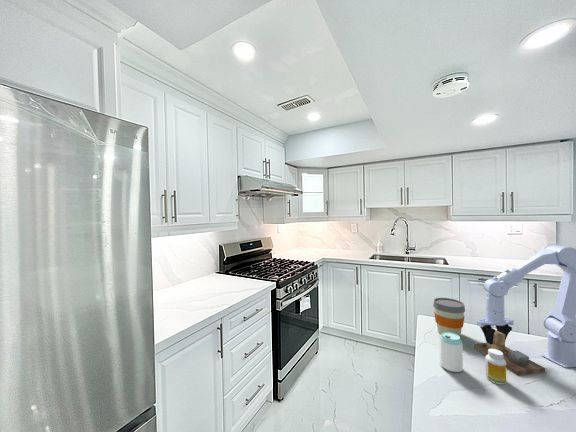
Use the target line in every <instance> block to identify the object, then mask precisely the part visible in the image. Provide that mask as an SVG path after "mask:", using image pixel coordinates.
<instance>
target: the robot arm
mask: <svg viewBox="0 0 576 432" xmlns="http://www.w3.org/2000/svg"><path fill="white" fill-rule="evenodd" d="M544 265H556V266H558V267H559V268H560V269H561V270H562V275H561V280H560V283H559V287H558V293H557V296H556V300H555V304H554V308H553V309H552V310H550V311H548V314H547V315H546V317H544V319H543V321H542V322H543V323H542V324H543V326H544V328H545V329H546V332H547V353H541V354H540V356H542V357H543V358H545V359H547V360H549V361H552V362H553V363H555V364H557V365H559V366H561V367H563V368H568V369H569V368H576V247H575V248H574V247H571V246H562V245H558V244H553V243H551V244H546V245H545V246H544V247H543V248H539V249H538V251H537V252H536V253H535V254H533V255H532V256H531V257H529V258H528V259H527V260H525V261H524V262H522V263H521V264H520V265H518V266H517V267H516V268H512V267H509V268H505V269H503V271H502V272H501V273H500V274H498V275H497V276H493V277H492V278H491V279H490V278H489V279H487V280H485V282H484V284H483V285H482V286H483V290H485V316H484V318H482V319H477V320H476V326H478V327H479V328H480V330H481V331H482V333H483V335H484V338H485V343H489V344H491V345H492V344H493V336H494V333H495V331H498V332H500V333H502V334H505V341H506V340H507V337H508V335H509V333H510V332H511V331H513V325H514V323H515V322H514V319H511V318H508V317H506V318H505V296H506V295H508V292H509V290H510V289H511V288H513V287H514V286H516V285H517V284H520V283H521V282H522V281H524V280H525V276H526V275H528V274H529V273H531V272H533V271H535V270H537V269H539V268H540V267H542V266H544ZM510 325H511V326H510ZM493 326H495V328H496V329H495V328H493Z"/></svg>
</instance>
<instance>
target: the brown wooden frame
mask: <svg viewBox="0 0 576 432" xmlns="http://www.w3.org/2000/svg"><path fill="white" fill-rule="evenodd" d="M486 347H487V342H480V343H479V342H478V343H473V348H474V349H476V350H477V351H479V352H480V353H482V354H483V355H485V356H486V355H488V349H487V348H486ZM508 351H514V350H513V349H511V348H510V347H507V346H506V345H505V353H503V359H504V360H505V361H506V370H508V371H510V372H512V373H514V374H515V375H516V376H521V375H532V374H542V373H546V368H545V367H543V366H542V365H540V364H539V363H538V362H537V363H536V362H535V361H533V360H531V359H529V365H521V366H519V365H517V364H515V363H514V362H512V361H510V360H509V359H508Z"/></svg>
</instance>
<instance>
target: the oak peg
mask: <svg viewBox="0 0 576 432" xmlns="http://www.w3.org/2000/svg"><path fill="white" fill-rule="evenodd" d="M486 343H487V342H486ZM505 346H506V340H505V334H502V333H500V332H498V331H497V330H496V331H495V333H494V336H493V344H492V345H491V344H489V343H487V347H486V348H487V349H496V350H499V351H501V352H502V353H505Z"/></svg>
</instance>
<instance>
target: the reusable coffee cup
mask: <svg viewBox="0 0 576 432" xmlns="http://www.w3.org/2000/svg"><path fill="white" fill-rule="evenodd" d="M432 304H433V308H434V311H433V314H434V321H435V323H436V328H437V333H438V334H439V335H440V336H441V335H442V333H443V332H451V333H454V334H457V335H458V336H460V337H461V335H462V328H463V327H464V323H465V312H466V307H465V304H464V302H462V301H460V300H458V299H454V298H450V297H449V298H448V297H436V298H434V299H433V303H432Z"/></svg>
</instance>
